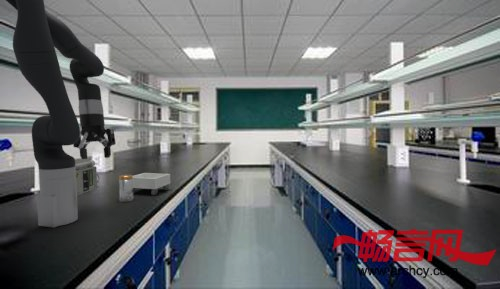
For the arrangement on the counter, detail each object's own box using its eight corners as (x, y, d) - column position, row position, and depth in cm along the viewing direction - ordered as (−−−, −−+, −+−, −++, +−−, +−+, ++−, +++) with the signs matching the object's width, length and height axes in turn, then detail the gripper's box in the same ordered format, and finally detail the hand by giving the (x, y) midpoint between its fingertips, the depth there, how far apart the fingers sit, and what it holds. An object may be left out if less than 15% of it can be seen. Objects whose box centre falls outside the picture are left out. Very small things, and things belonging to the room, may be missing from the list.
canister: (127, 202, 104) (126, 177, 103) (116, 201, 105) (115, 176, 105) (135, 198, 109) (135, 174, 108) (125, 198, 110) (124, 174, 109)
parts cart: (155, 196, 113) (155, 178, 112) (127, 194, 116) (127, 177, 116) (170, 189, 124) (170, 174, 124) (144, 188, 128) (144, 172, 127)
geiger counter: (69, 166, 108) (104, 158, 132) (54, 165, 108) (92, 158, 133) (71, 199, 108) (105, 185, 133) (56, 199, 109) (93, 185, 134)
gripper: (64, 114, 91) (69, 160, 92) (104, 111, 90) (108, 158, 91) (79, 115, 99) (84, 158, 99) (116, 112, 98) (120, 156, 99)
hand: (96, 158), depth 95 cm, fingers open, 8 cm apart
